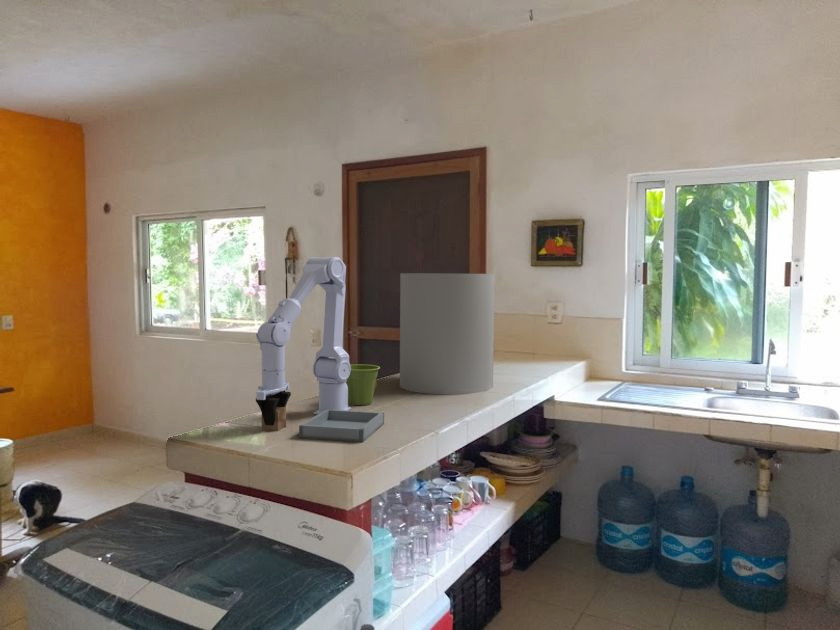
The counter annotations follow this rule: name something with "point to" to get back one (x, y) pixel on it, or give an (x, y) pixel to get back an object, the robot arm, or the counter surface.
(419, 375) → the cylinder container
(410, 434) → the counter surface
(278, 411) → the block
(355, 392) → the plant pot
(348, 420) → the bin
